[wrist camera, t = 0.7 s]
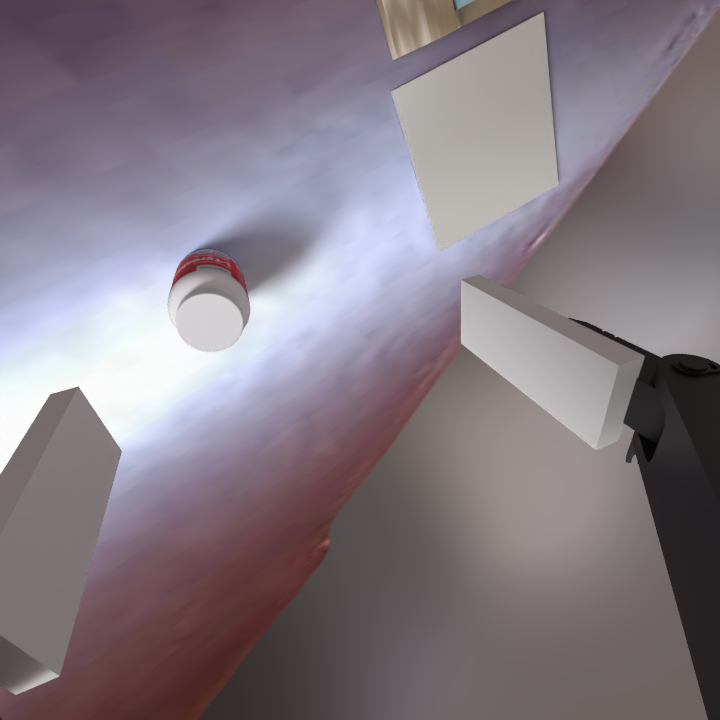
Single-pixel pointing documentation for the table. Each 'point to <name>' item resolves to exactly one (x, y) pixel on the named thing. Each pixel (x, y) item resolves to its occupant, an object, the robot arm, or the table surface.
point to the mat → (481, 131)
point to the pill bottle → (209, 300)
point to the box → (426, 20)
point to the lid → (461, 3)
